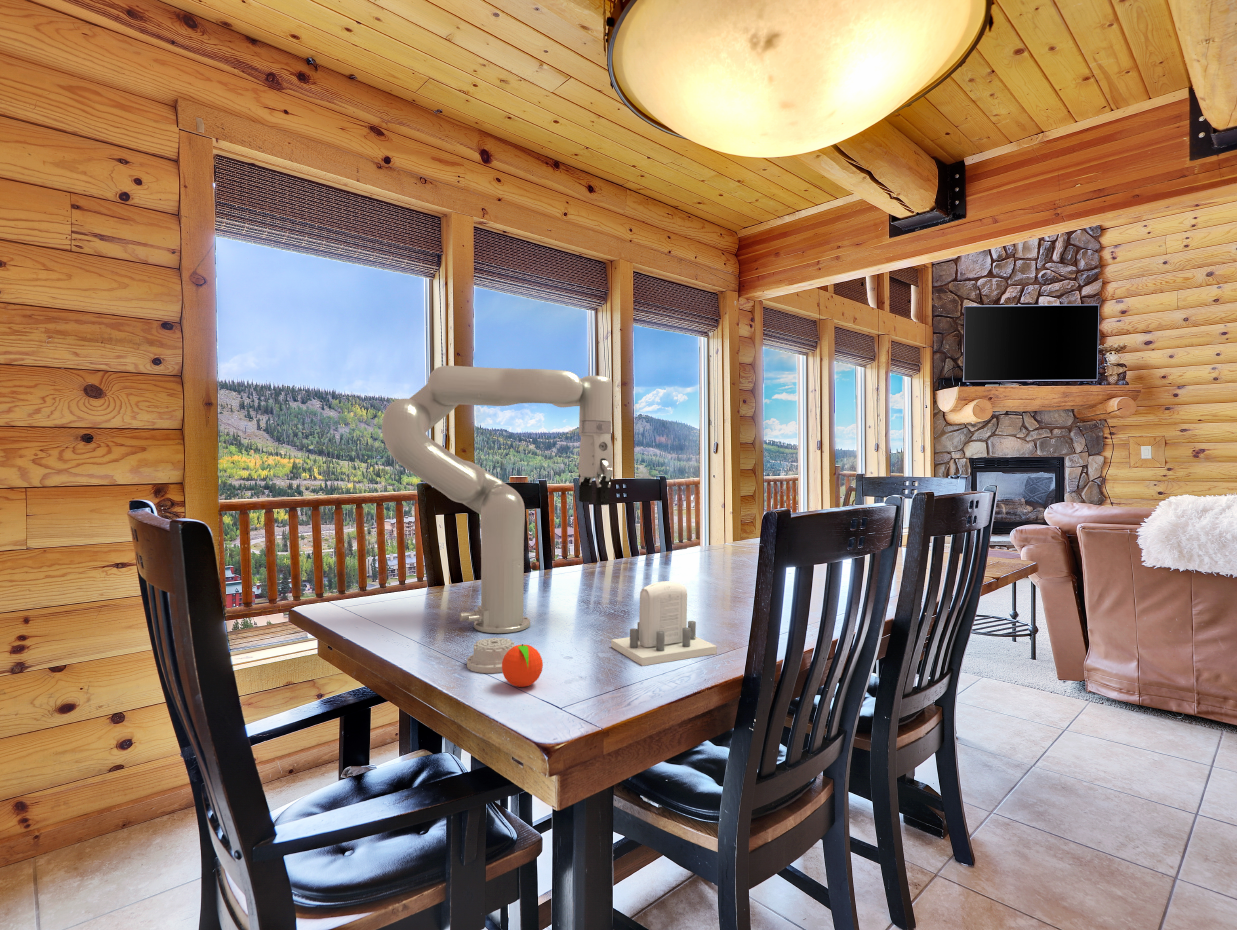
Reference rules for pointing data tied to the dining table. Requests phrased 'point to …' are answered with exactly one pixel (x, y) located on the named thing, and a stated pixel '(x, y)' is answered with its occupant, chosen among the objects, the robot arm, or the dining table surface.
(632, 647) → the pin tray
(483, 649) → the mechanical component
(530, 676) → the clementine
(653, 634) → the photo printer
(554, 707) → the dining table surface
